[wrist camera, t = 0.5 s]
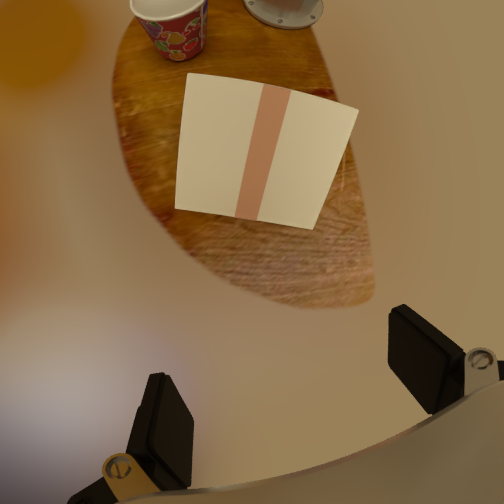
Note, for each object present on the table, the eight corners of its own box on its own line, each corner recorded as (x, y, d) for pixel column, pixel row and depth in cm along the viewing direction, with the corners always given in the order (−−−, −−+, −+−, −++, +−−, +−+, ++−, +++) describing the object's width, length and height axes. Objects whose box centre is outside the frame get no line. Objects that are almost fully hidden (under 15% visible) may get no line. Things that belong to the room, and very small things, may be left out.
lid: (188, 72, 20) (187, 73, 20) (357, 109, 22) (359, 110, 22) (175, 206, 30) (174, 209, 29) (311, 227, 32) (312, 230, 32)
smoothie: (220, 31, 31) (224, -61, 12) (197, 74, 32) (180, -11, 13) (169, 20, 29) (143, -66, 10) (144, 62, 31) (95, -14, 12)
